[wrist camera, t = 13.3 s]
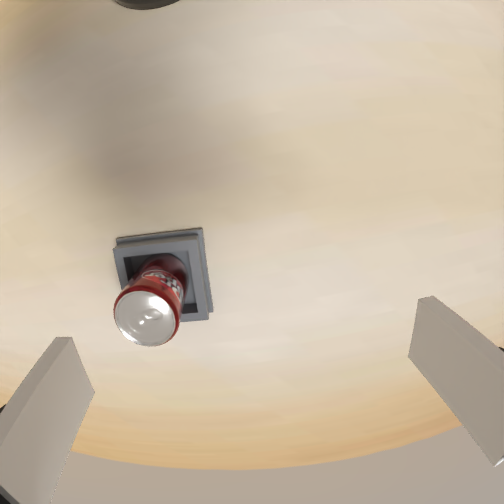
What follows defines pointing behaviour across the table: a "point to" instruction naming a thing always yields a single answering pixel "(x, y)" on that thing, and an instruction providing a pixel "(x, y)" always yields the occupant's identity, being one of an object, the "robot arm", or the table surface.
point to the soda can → (153, 301)
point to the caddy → (181, 247)
